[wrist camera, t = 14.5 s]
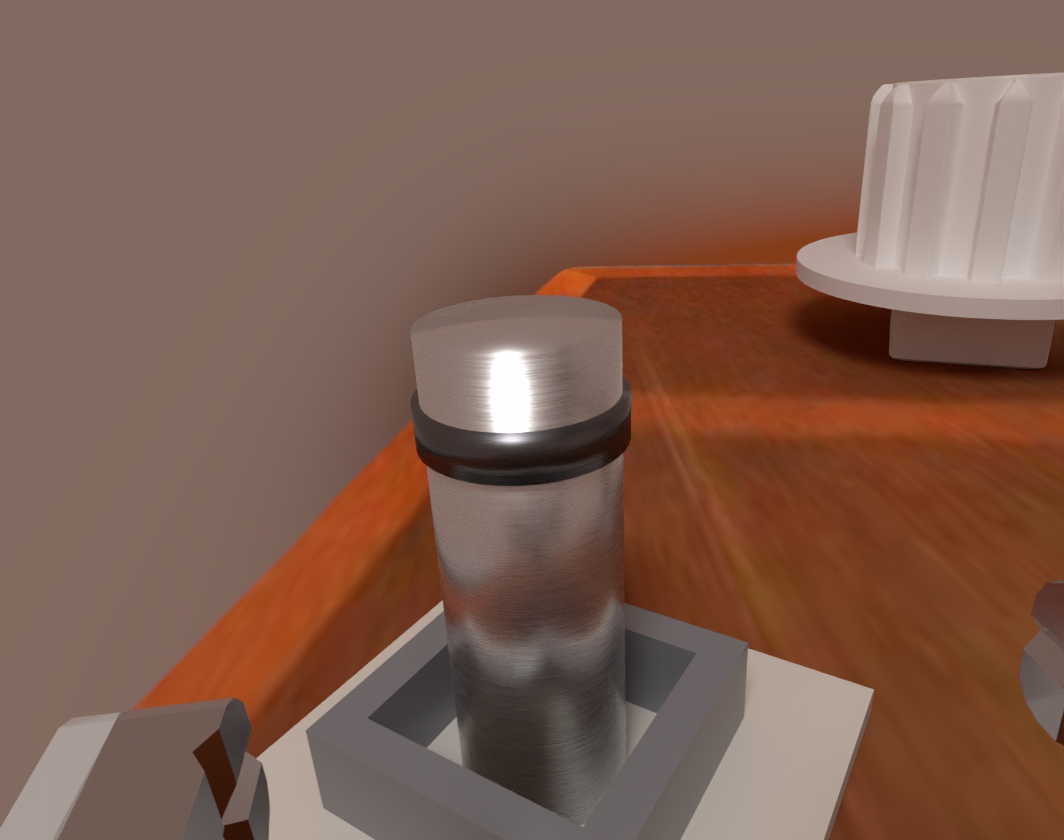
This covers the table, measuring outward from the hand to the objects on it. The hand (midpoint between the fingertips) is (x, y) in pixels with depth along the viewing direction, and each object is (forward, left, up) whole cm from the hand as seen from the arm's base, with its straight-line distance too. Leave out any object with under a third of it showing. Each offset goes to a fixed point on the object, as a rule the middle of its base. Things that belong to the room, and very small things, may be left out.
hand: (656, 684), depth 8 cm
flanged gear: (-60, -2, -15) cm, 62 cm away
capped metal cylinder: (-9, -8, -13) cm, 18 cm away
